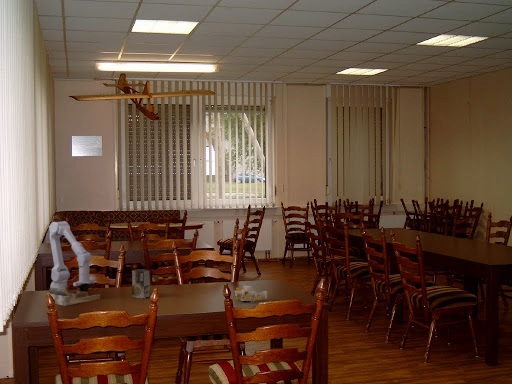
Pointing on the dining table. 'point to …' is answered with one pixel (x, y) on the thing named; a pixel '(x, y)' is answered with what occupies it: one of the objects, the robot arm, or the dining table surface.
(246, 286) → the figure
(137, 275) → the coffee box
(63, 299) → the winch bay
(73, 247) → the robot arm
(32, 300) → the dining table surface
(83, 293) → the beige square tray
